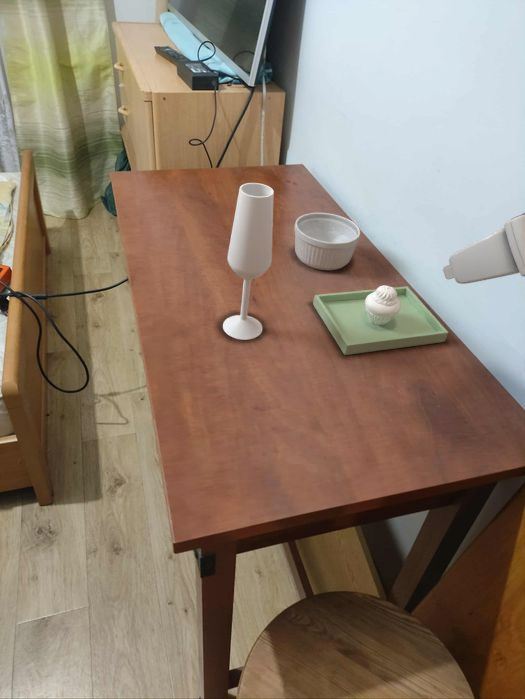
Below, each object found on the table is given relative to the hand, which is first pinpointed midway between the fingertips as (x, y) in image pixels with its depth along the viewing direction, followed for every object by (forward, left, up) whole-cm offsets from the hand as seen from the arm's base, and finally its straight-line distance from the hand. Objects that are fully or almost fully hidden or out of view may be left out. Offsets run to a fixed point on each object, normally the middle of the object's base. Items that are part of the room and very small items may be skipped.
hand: (470, 264), depth 70 cm
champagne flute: (+30, +8, -19) cm, 36 cm away
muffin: (+11, -7, -19) cm, 23 cm away
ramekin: (+28, -22, -19) cm, 40 cm away
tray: (+11, -7, -19) cm, 23 cm away
